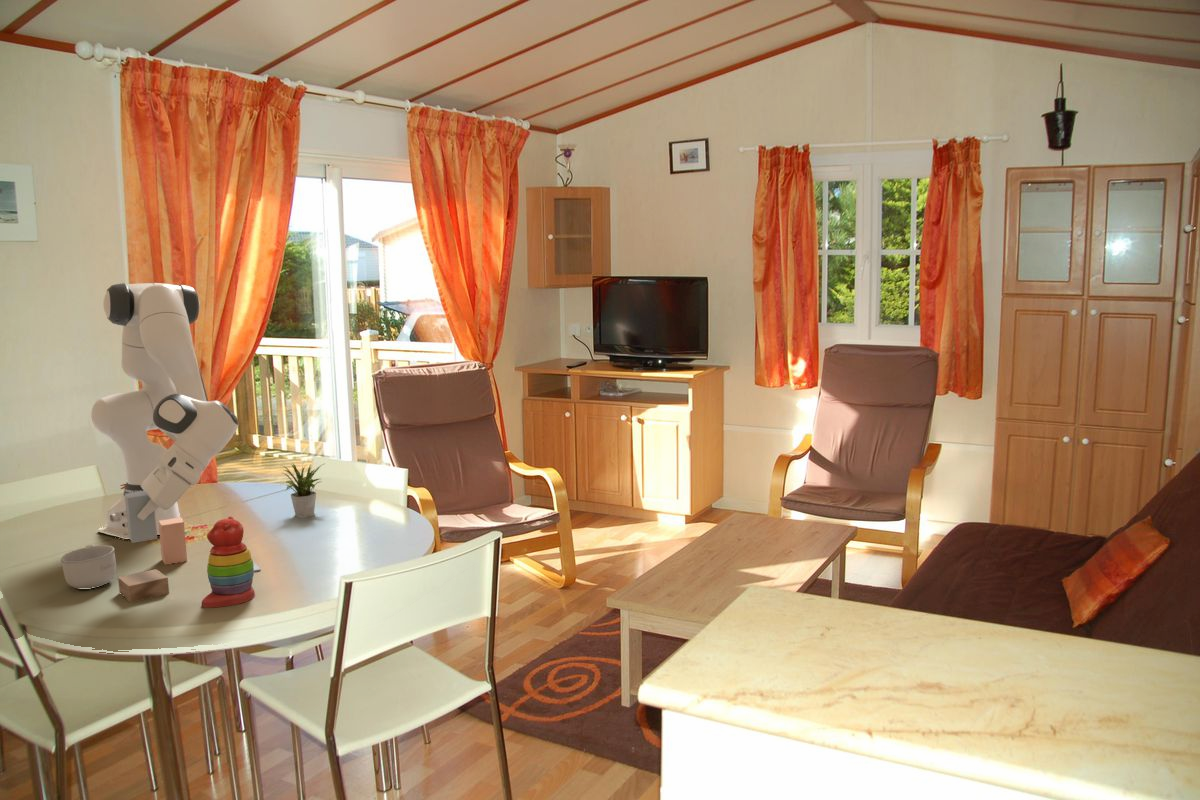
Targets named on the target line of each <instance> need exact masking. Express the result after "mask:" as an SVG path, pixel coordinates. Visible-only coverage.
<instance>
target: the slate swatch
mask: <svg viewBox="0 0 1200 800" xmlns="http://www.w3.org/2000/svg"><path fill="white" fill-rule="evenodd" d="M253 565H254V567H253V568H254V573H257V572H261V568H260V567H259V566H258V564H256V563H255V562H253Z"/></svg>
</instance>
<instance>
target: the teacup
mask: <svg viewBox="0 0 1200 800" xmlns="http://www.w3.org/2000/svg"><path fill="white" fill-rule="evenodd" d="M60 561H61V564H62V565H61V566H62V572H63V575H64V579H65V582H66V583H67V584H68V586H70V587H71V588H75V589H76V588H92V587H97V586H101V585H104V584H106V585H108V584H107V583H108V582H109V583H110V582H111V580H112V579H113V578H114V577H115V575H116V574H117V562H116V561H117V560H116V555H115V547H114V546H112V545H106V544H105V545H104V544H103V545H102V544H101V545H92V544H90V545H86V546H85V547H82V548H77V549H75V550H71V551H69V552H67V553H65V554H63V555H62V556H61V557H60ZM104 586H105V585H104Z"/></svg>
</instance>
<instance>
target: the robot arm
mask: <svg viewBox="0 0 1200 800" xmlns="http://www.w3.org/2000/svg"><path fill="white" fill-rule="evenodd" d="M102 306H103V310H104V312H105V313H104V314H105V315H106V317H107V319H108V320H109V322H111V323H112V324H114V325H117V326H121V327H122V334H121V338H122V339H121V368H122V370H123V372H124V373H125V375H127V376H128V377H129V378H132V379H134V380H136V381H139V382H141V387H142V388H141V390H135V391H134V390H133V391H127V392H119V393H114V394H109V395H107V396H104V397H100V398H98V399H97V400H96V401H95V402H94V404H92V409H91V414H90V415H91V421H92V423H93V425H94V427H95V428H96V429H97V430H98V431H99V432H100V433H101V434H103V435H106V436H107V437H108V438H110V439H111V440H112V441H113V442H114V443H115V444H116V445H117V446H118V448H119V449H120V452H121V454H122V456H123V460H124V465H125V472H126V483H122V484H120V490H123V496H122V497H120V499H119V500H117V501H116V502H115V503H114V504H113V505H112V506H111V507H110V508H109V509H108V510H107V513H106V524H105V525H103V526H107V527H104V528H103V526H101V527H102V528H101V527H99V528H98V529H97V531H98V530H101V531H104V532H107V533H110V534H114V535H117V536H120V537H123V538H129V532H128V522H127V512H126V502H125V494H127V493H134V492H141V491H145V492H146V493H147V494H148V496H149V498H150V500H149V501H148V502H147V504H146V505H145V506H144V507H143V508H142V509H140V511H139V512H138V513H137V517H138V518H140V519H141V520H145V519H146V518H147V516H148V515H149V514H151V513H152V512H153V511H155V521H156V531H157V535H160V533H159V522H158V521H161V520H167V519H174V518H181V519H182V520H183V521H184V519H183V518H182V517H181V514H180V508H179V505H178V501H179V500H180V499H181V498H182V497H183V496H184V495H185V494H186V492H188V490H190V488H191V486H193V487H194V486H196V485H197V484H198V483H199V482H200V481H201V477H202V476H201V475H202V474H203V472H204V471H205V470H206V469H207V467H208V466H209V464H210V463H211V461H212V459H213V458H214V457H215V456H216V455H217V454H219V453H220V452H222V450H224V448H225V447H226V446H227V444H228V443H229V442H230V440H232V438H233V436H234V435H235V433H236V432H237V431H238V429H239V425H240V424H239V423H240V422H239V420H238V417H237V416H236V415H235V414H234V412H233V411H232V410H231V409H230V408H229V407H228V406H227V405H226V404H225V403H224V402H222V401H219V400H210V401H209V398H208V395H207V391H206V388H205V384H204V381H203V380H204V379H203V376H202V373H201V370H200V368H199V363H198V359H197V355H196V352H195V347H194V341H193V337H192V331H191V327H190V325H192V324H194V323H195V322H196V321H197V320H198V319H199V314H200V311H201V302H200V298H199V294H198V293H197V291H196V290H195V289H194V287H192V286H189V285H185V284H178V285H176V284H171V283H162V282H161V283H160V282H152V283H150V282H149V283H147V282H146V283H144V282H143V283H142V282H141V283H140V282H139V283H129V284H128V283H127V284H126V283H124V282H121V283H116V284H112V285H111V286H109V287H108V288H107V289H106V293H105V295H104V297H103V305H102ZM153 430H154V431H155V430H160V431H161V432H162V433H163V434H165V435H166V436H167V437H168V438H170V439H171V440H172V441H174V442H173V443H172V444H171V446H169V448H168V449H167V448H166V447H165V446H163V445H161V444H159V443H157V442H154V441H150V438H149V436H148V431H153Z"/></svg>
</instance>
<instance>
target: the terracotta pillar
mask: <svg viewBox="0 0 1200 800" xmlns="http://www.w3.org/2000/svg"><path fill="white" fill-rule="evenodd" d="M181 518H182V517H180V518H174V519H167V520H161V521H158V522H159V533H160V536H159V541H160V542H159V543H160V551H161V552H160V553H161V554H160V555H161V561H162V560H163V561H162V563H163V564H164V563H165V564H169V565H172V564H171V563H175V564H179V563H178V562H181V563H185V562H184V561H186V562H188V556H187V555H188V554H187V553H188V552H187V545H186V544H187V543H186V541H187V540H186V533H185V532H186V529H185V522H184V519H183V518H182V519H183V520H182V519H181ZM165 564H164V565H165Z"/></svg>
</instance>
